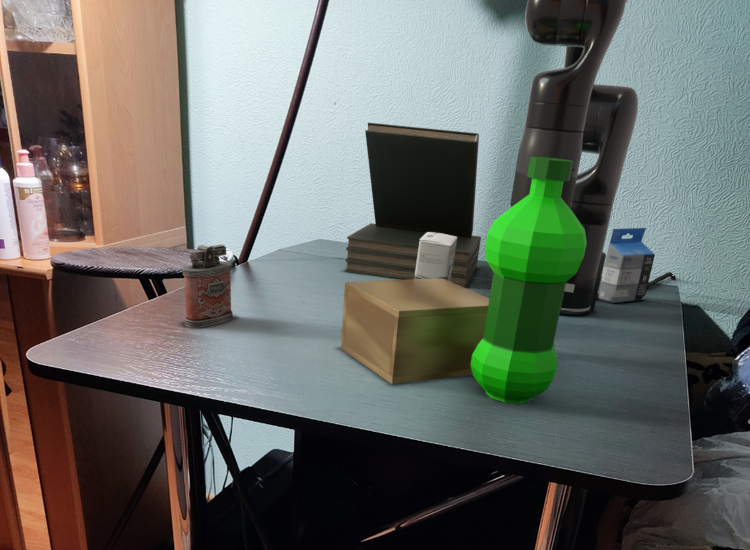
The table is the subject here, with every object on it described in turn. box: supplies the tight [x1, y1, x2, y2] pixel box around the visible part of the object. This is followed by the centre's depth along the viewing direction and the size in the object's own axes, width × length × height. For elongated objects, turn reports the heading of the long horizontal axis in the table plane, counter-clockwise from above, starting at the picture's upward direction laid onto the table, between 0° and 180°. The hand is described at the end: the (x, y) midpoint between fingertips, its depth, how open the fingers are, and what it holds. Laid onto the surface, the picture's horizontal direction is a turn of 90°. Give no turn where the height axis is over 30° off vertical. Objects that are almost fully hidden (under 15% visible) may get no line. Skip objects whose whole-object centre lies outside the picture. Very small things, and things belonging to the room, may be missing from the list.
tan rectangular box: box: [340, 278, 490, 385], centre depth 90 cm, size 15×14×9 cm
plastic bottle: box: [471, 157, 587, 405], centre depth 78 cm, size 10×10×25 cm
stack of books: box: [344, 122, 482, 289], centre depth 135 cm, size 23×20×25 cm
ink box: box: [414, 232, 457, 281], centre depth 108 cm, size 9×5×12 cm, turn 168°
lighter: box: [182, 244, 233, 329], centre depth 98 cm, size 8×3×10 cm, turn 148°
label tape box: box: [597, 227, 656, 304], centre depth 130 cm, size 9×4×12 cm, turn 123°
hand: (522, 310), depth 97 cm, fingers closed
